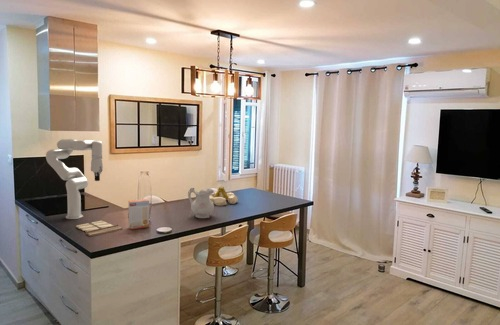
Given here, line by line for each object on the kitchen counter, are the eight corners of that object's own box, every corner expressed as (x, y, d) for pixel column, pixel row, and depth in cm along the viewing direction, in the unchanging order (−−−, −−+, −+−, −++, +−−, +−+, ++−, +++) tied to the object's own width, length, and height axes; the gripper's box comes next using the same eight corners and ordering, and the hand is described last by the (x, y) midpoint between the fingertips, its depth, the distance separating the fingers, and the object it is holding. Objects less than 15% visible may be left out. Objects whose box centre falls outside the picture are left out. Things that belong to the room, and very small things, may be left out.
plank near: (76, 227, 269) (76, 225, 269) (88, 224, 276) (88, 223, 276) (87, 233, 258) (87, 231, 257) (100, 230, 264) (100, 228, 264)
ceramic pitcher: (191, 221, 299) (192, 192, 294) (185, 213, 316) (186, 185, 312) (216, 219, 308) (218, 191, 304) (208, 212, 326) (210, 185, 321)
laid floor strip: (85, 234, 255) (85, 231, 255) (117, 227, 274) (117, 224, 274) (90, 236, 251) (90, 234, 251) (122, 229, 269) (122, 226, 269)
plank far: (90, 224, 277) (90, 222, 277) (102, 222, 284) (102, 220, 284) (102, 230, 266) (102, 228, 266) (114, 227, 273) (114, 225, 273)
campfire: (215, 207, 344) (216, 190, 342) (195, 200, 369) (195, 184, 367) (243, 203, 368) (244, 186, 366) (223, 196, 392) (223, 181, 390)
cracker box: (147, 225, 281) (147, 198, 279) (149, 227, 276) (149, 200, 273) (128, 227, 274) (128, 200, 272) (130, 229, 269) (130, 201, 266)
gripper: (87, 156, 282) (87, 179, 285) (97, 158, 273) (97, 182, 275) (96, 155, 288) (97, 178, 290) (106, 157, 279) (106, 181, 281)
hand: (97, 180), depth 283 cm, fingers closed
